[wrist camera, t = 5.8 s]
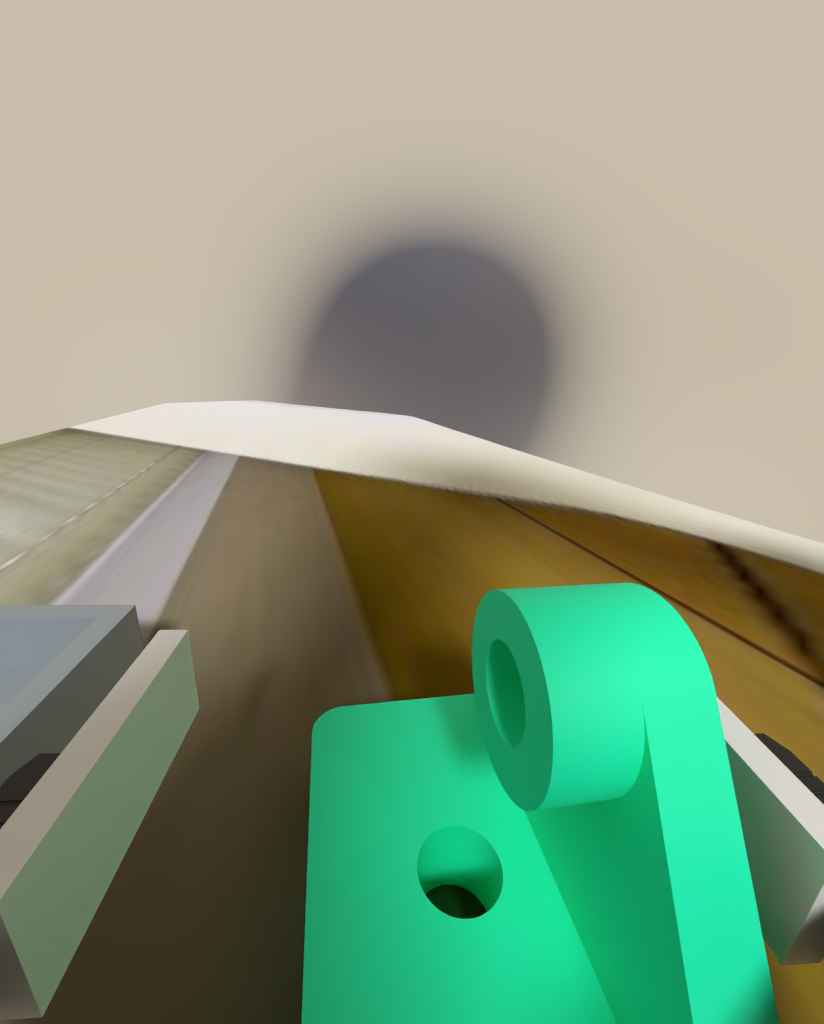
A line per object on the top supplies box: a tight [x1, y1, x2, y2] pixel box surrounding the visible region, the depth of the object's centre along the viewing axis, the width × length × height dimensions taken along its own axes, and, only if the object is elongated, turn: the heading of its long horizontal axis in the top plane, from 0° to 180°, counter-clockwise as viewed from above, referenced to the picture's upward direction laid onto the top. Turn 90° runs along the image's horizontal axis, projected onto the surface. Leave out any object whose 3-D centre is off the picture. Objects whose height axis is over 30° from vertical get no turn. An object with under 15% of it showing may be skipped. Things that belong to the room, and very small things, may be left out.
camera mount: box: [301, 583, 779, 1024], centre depth 11 cm, size 12×8×10 cm, turn 10°
